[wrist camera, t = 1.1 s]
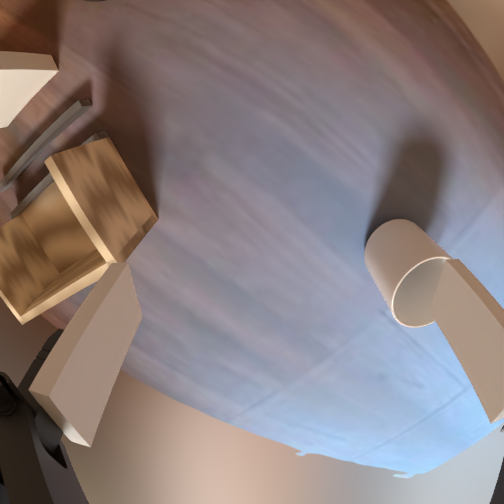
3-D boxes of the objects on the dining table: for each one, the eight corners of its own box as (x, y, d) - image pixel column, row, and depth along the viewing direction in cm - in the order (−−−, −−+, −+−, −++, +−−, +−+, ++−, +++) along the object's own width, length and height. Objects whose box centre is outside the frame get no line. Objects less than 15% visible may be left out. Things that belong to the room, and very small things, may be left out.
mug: (348, 244, 37) (376, 294, 27) (402, 201, 34) (447, 238, 25) (390, 300, 41) (418, 352, 31) (437, 264, 38) (476, 309, 28)
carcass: (5, 183, 34) (-49, 212, 23) (88, 99, 29) (25, 104, 19) (63, 277, 41) (22, 324, 30) (158, 219, 36) (120, 267, 26)
